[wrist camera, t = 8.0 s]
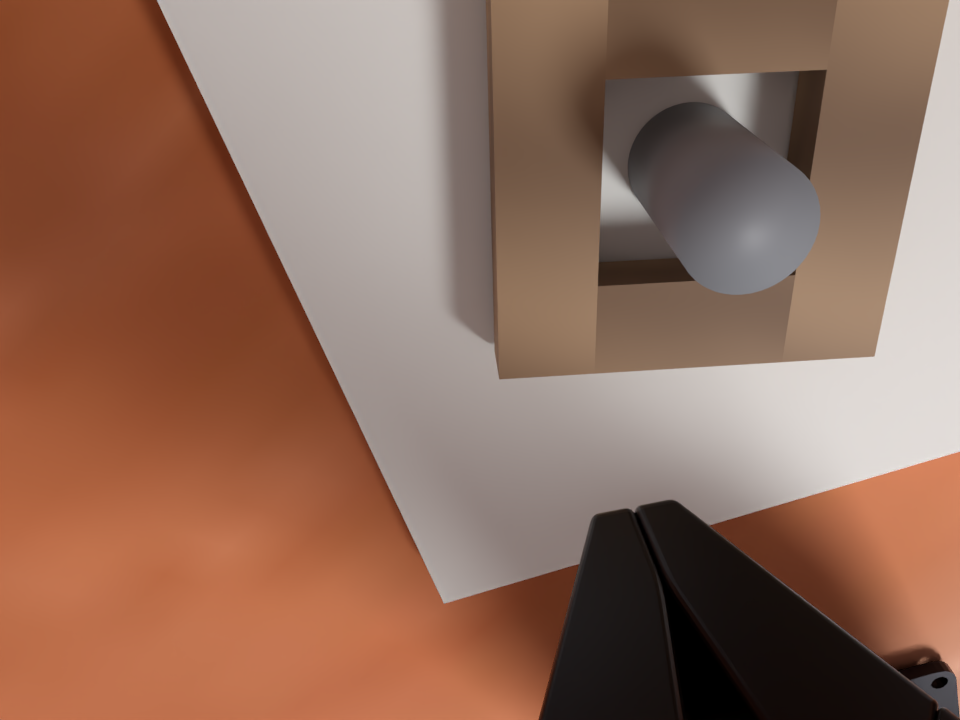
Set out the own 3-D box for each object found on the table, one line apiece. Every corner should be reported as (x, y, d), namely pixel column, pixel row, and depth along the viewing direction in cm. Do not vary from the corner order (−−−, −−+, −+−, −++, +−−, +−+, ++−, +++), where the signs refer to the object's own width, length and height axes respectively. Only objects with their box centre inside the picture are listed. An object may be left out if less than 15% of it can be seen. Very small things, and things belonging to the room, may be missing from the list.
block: (850, 331, 20) (921, 406, 17) (494, 351, 20) (508, 432, 17) (1011, -509, 13) (1172, -609, 10) (473, -500, 13) (491, -602, 10)
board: (1069, 385, 23) (1225, 507, 19) (442, 571, 25) (449, 725, 20) (1076, -610, 14) (1383, -826, 9) (78, -210, 15) (-53, -240, 11)
